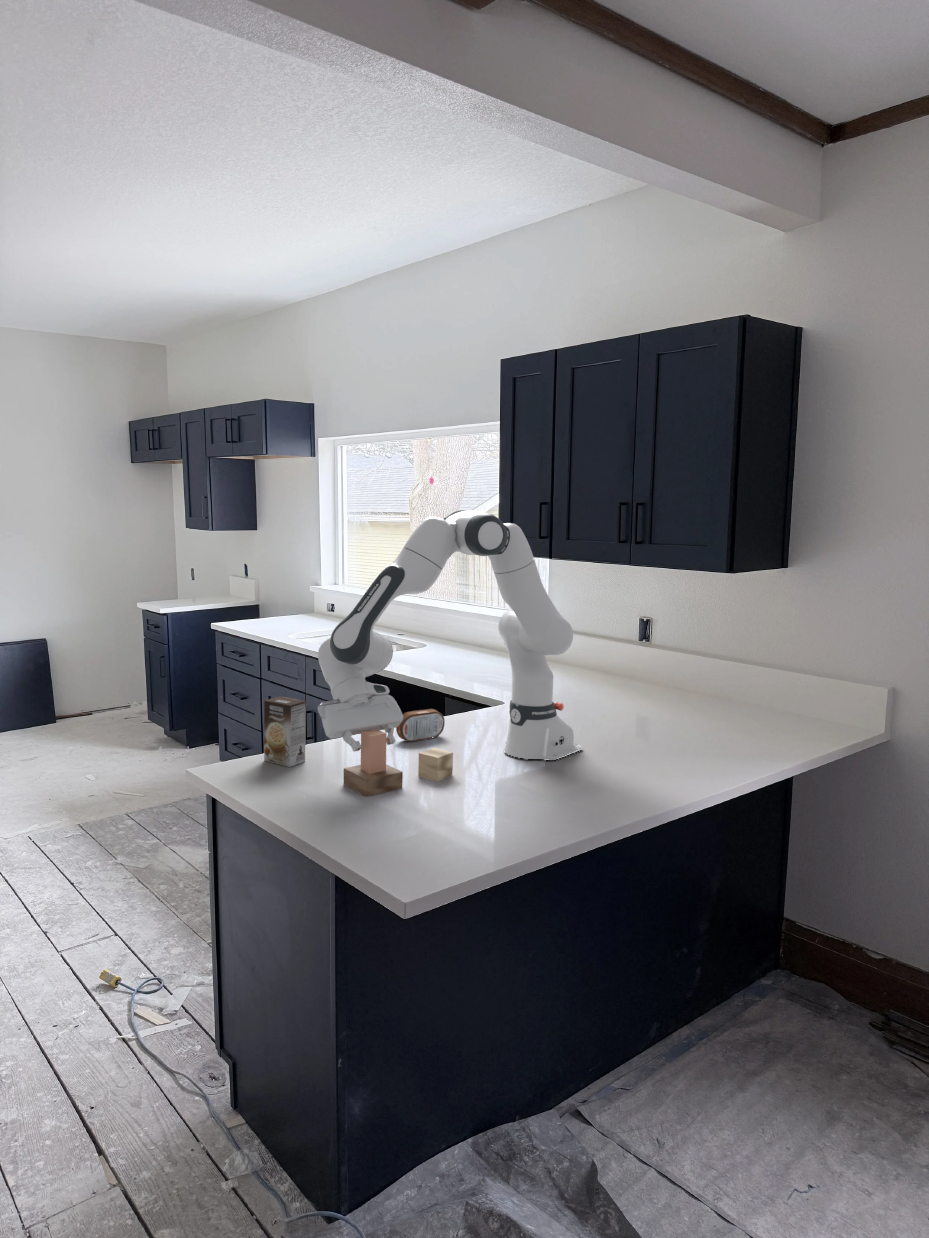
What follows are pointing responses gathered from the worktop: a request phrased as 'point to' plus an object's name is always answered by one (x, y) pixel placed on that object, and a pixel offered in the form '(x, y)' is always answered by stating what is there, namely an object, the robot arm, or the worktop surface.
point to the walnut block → (373, 780)
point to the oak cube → (435, 764)
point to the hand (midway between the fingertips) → (375, 746)
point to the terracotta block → (373, 751)
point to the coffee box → (284, 731)
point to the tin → (420, 725)
